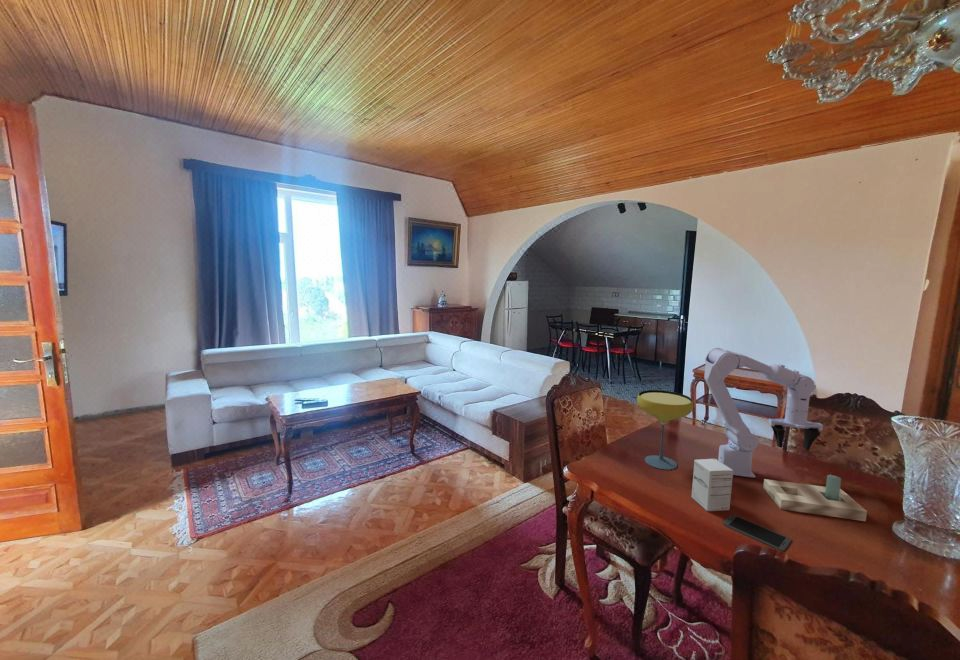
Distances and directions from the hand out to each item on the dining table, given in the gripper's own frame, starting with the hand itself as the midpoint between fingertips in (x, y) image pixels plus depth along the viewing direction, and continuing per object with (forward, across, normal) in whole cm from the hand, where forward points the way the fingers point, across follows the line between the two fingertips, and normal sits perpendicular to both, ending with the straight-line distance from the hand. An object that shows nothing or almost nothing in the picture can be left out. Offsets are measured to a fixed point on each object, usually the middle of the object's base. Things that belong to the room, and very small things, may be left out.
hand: (792, 447), depth 129 cm
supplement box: (+10, -31, -27) cm, 42 cm away
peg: (+10, +3, -18) cm, 21 cm away
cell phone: (+10, -23, -38) cm, 46 cm away
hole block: (+10, -2, -18) cm, 21 cm away
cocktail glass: (+10, -41, -3) cm, 42 cm away
